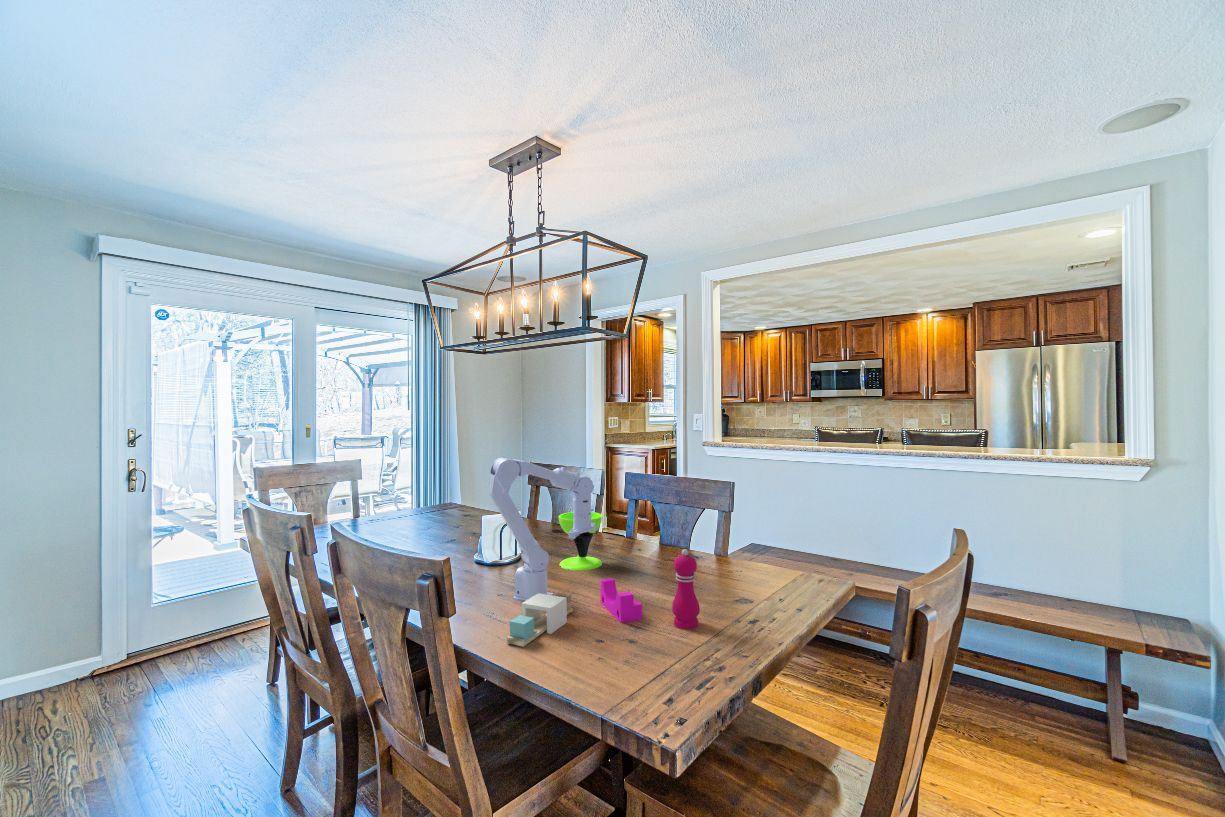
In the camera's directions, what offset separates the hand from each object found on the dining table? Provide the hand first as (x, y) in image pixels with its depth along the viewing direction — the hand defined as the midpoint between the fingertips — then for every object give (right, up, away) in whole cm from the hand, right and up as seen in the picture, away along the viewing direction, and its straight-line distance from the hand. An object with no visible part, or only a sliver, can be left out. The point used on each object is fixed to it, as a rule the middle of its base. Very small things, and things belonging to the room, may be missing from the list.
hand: (582, 556), depth 167 cm
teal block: (-13, -9, -37) cm, 41 cm away
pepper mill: (+29, -10, -29) cm, 42 cm away
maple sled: (-9, -10, -29) cm, 32 cm away
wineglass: (-2, -11, +27) cm, 29 cm away
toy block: (+12, -11, -19) cm, 25 cm away
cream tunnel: (-9, -11, -28) cm, 31 cm away
